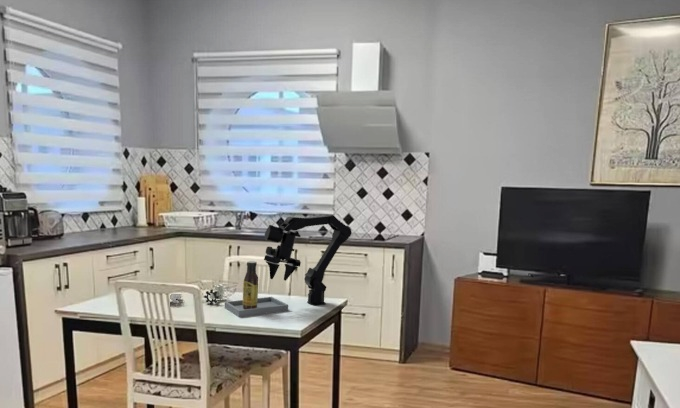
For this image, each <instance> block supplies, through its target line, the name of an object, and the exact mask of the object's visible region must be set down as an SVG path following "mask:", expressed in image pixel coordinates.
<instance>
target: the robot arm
mask: <svg viewBox="0 0 680 408" xmlns="http://www.w3.org/2000/svg"><path fill="white" fill-rule="evenodd" d="M322 225H323V226H324V225H329V227H330V229H332V230H333V232H332V235H331V241H330V242H329V244H328V245H327V246H326V249H325V251H324V252H323V254H322V255H321V257H320V259H318V261H317V263H316V265H315V266H314V267H309V268H307V272H306V273H305V274H304V276H305V277H304V278H303V279H304V283H305V285H307V288H308V289H309V290H308V294H307V301H306V303H308V304H310V305H312V306H318V305H319V306H320V305H326V304H327V302H325V292H326V289H327V286H326V285H325V284H324V283H323V280H324V277H325V271H326V270H327V268H328V266H329V265H330V263H331V261H332V260H333V258H334V256H335V255H336V254H337V251H338V250H339V249H340V247H341V245H342V244H344V243H345V242H347V241H348V239H349V238H350V237H351V235H352V234H353V233H352V228H351V227H350V226H349V225H346V224H344V223H343V222H342V221H341V220H339V219H338V218H337V217H336V216H335V215H332V214H331V215H330V214H327V215H319V216H310V217H299V216H288V217H286V218H285V219H284V221H283V223H282V224H280V225H279V226H275V225H272V224H269V225H268V227H267V229H266V230H265V231H264V240H265V241H269V242H272V243H279V242H280V243H279V244H278V245H277V246H276V248H273V247H272V246H266V249H265V255H264V257H263V260H264V262H265V263H266V264H267V265H268V268H269V279H271V280H273V279H274V278H275V275H276V274H277V271H278V269H279V268H280V263H284V267H285V271H284V275H283V281H287V280H288V279H289V278H290V276H291V275H292V274H293V273H294V271H295V270H297V269H298V267H301V263H302V262H301V260H300V259H297V258H293V257H292V254H293V253H292V252H295V248H294V245H295V243H296V237H297V238H301V234H300V233H299V230H301V229H304V228H306V227H313V226H315V227H316V226H322Z"/></svg>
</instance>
